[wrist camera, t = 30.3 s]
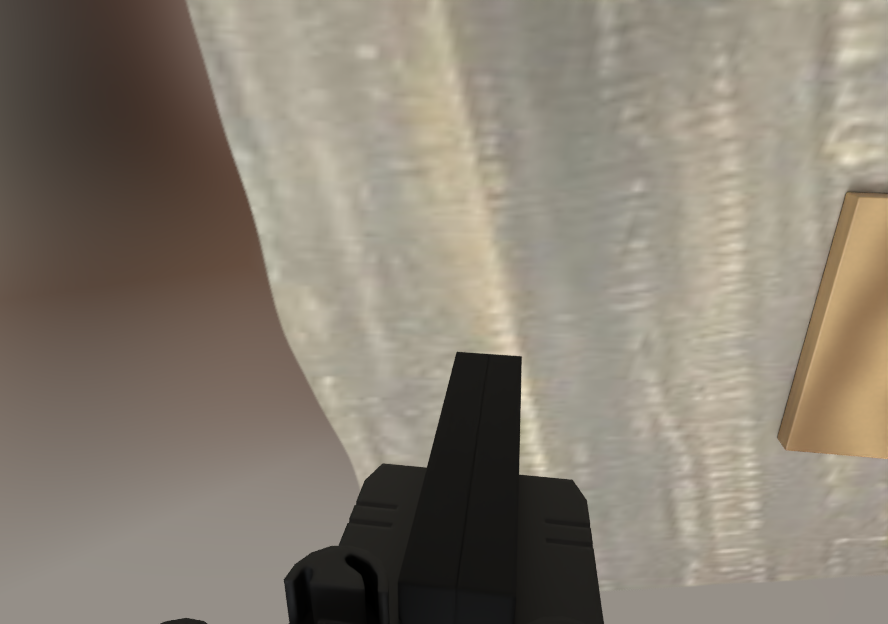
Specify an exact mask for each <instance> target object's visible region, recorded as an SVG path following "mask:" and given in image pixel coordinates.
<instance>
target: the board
mask: <svg viewBox="0 0 888 624" xmlns="http://www.w3.org/2000/svg"><path fill="white" fill-rule="evenodd" d="M778 440H779V441H780V443H781V444H782V446H783V447H784V449H785V450H790V451H802V452H813V453H825V454H837V455H848V456H860V457H872V458H883V459H888V194H884V193H855V192H848V193H846V197H845V200H844V204H843V207H842V211H841V214H840V218H839V221H838V225H837V229H836V232H835V236H834V239H833V243H832V246H831V250H830V253H829V257H828V261H827V264H826V268H825V271H824V275H823V278H822V282H821V285H820V289H819V292H818V296H817V300H816V303H815V307H814V310H813V314H812V317H811V321H810V324H809V328H808V331H807V335H806V339H805V342H804V346H803V349H802V353H801V356H800V360H799V363H798V367H797V370H796V374H795V378H794V381H793V385H792V388H791V392H790V395H789V399H788V402H787V406H786V409H785V413H784V417H783V420H782V424H781V427H780V431H779V434H778Z"/></svg>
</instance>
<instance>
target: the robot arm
mask: <svg viewBox="0 0 888 624" xmlns="http://www.w3.org/2000/svg"><path fill="white" fill-rule="evenodd" d="M521 365H522V356H508V355H494V354H479V353H465V352H457V353H456V357H455V361H454V364H453V368H452V372H451V376H450V380H449V384H448V388H447V392H446V396H445V399H444V403H443V407H442V411H441V415H440V419H439V423H438V427H437V431H436V434H435V438H434V442H433V446H432V450H431V454H430V458H429V462H428V466H427V468H425V467H414V466H404V465H393V464H382V465H381V466H379V467H378V468H377V469H376V470H375V471H374V472H373V473H372V474H371V475H370V476H369V477H368V478H367V479H366V480H365V481H364V484H363V486H362V489H361V491H360V494H359V496H358V499H357V501H356V505H355V506H354V508H353V511H352V513H351V516H350V518H349V523H348V524H347V526H346V528H345V531H344V533H343V536H342V538H341V541H340V543H339V546H330V547H327V548H324V549H321V550H318V551H315V552H312V553H310V554H309V555H308V556H306V557H305V558H303V559H302V560H300V561H299V562H298V563H296V564H295V565H294V566H293V568H292V569H291V571H290V572H289V573H288V575H287V576H286V578H285V579H284V584H285V592H286V600H287V607H288V615H289V622H290V623H289V624H604V621H603V614H602V607H601V600H600V592H599V585H598V578H597V570H596V563H595V556H594V549H593V541H592V534H591V528H590V519H589V512H588V505H587V500H586V499H585V497H584V496H583V494H582V493H581V491H580V490H579V488H578V487H577V486H576V484H575V483H574V481H573V480H569V479H559V478H548V477H538V476H527V475H519V452H520V409H521ZM161 624H207V623H206V622H204V621H200V620H195V619H189V618H183V619H177V620H171V621H166V622H163V623H161Z"/></svg>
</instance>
